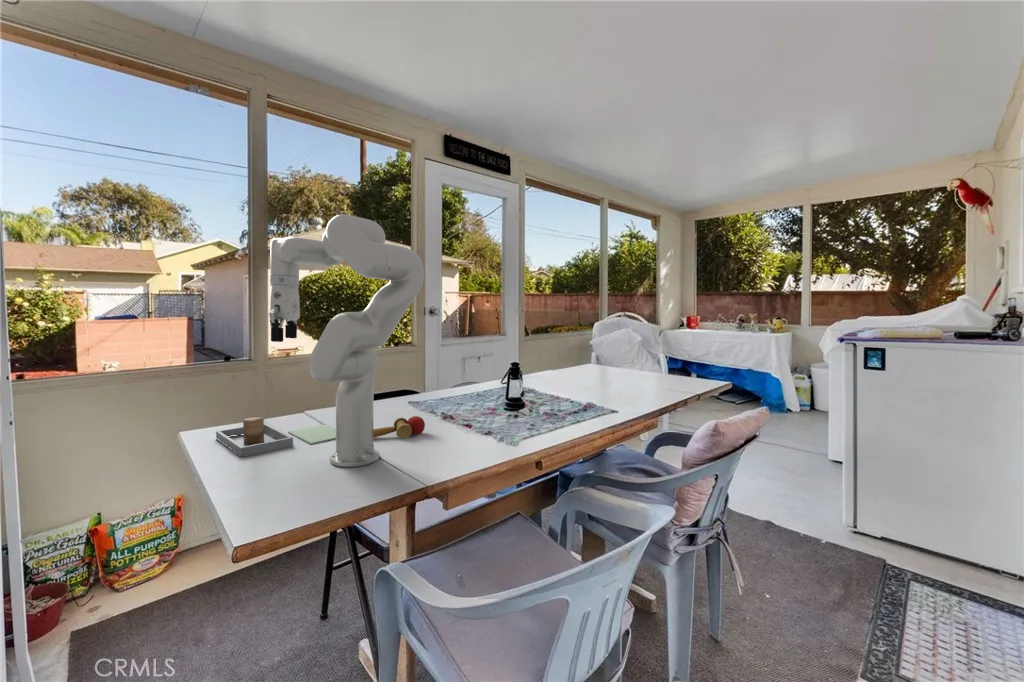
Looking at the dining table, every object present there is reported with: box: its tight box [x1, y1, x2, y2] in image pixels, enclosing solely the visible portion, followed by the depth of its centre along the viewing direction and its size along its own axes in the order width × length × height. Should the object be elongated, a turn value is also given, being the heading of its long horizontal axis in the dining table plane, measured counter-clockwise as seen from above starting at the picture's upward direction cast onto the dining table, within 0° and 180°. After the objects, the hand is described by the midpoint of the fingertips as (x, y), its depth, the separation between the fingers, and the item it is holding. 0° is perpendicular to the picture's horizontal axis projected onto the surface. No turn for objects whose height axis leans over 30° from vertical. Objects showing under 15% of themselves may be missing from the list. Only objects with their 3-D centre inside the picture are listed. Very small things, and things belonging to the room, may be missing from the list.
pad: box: [287, 424, 336, 445], centre depth 142 cm, size 16×12×1 cm
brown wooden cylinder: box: [242, 416, 265, 446], centre depth 132 cm, size 5×5×7 cm
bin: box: [215, 422, 294, 457], centre depth 132 cm, size 22×14×2 cm, turn 48°
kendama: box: [373, 415, 426, 439], centre depth 142 cm, size 8×6×18 cm
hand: (284, 339), depth 133 cm, fingers open, 9 cm apart
